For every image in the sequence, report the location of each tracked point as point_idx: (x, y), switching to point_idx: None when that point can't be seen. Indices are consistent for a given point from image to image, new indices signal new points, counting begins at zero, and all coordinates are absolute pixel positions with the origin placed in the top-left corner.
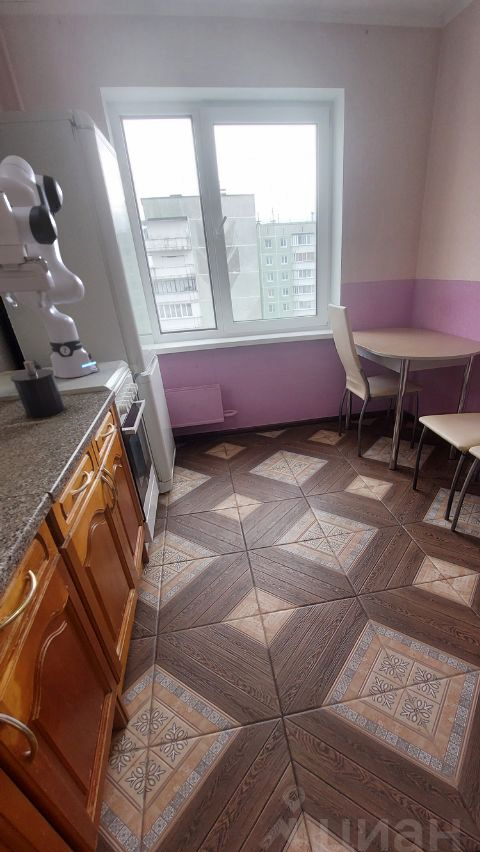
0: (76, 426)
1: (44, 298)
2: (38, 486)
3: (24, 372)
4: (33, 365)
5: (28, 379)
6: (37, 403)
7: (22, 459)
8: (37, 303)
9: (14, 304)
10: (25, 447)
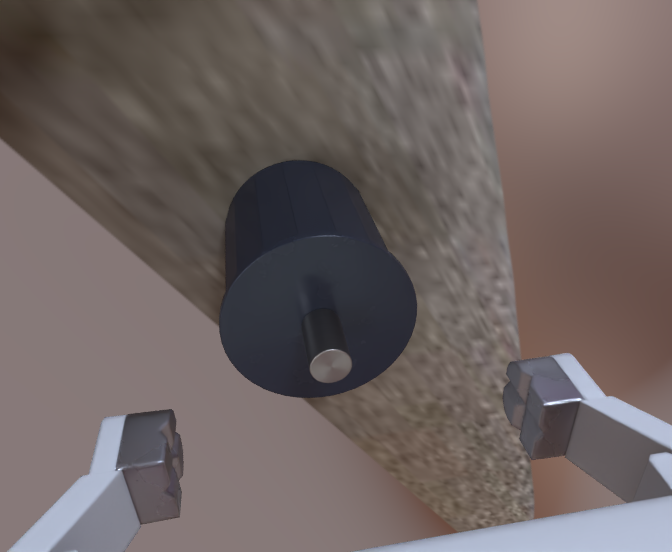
0: (474, 313)
1: (640, 422)
2: (511, 521)
3: (245, 297)
4: (346, 343)
5: (355, 384)
6: None
7: (423, 468)
8: (523, 441)
9: (174, 470)
10: (393, 430)
